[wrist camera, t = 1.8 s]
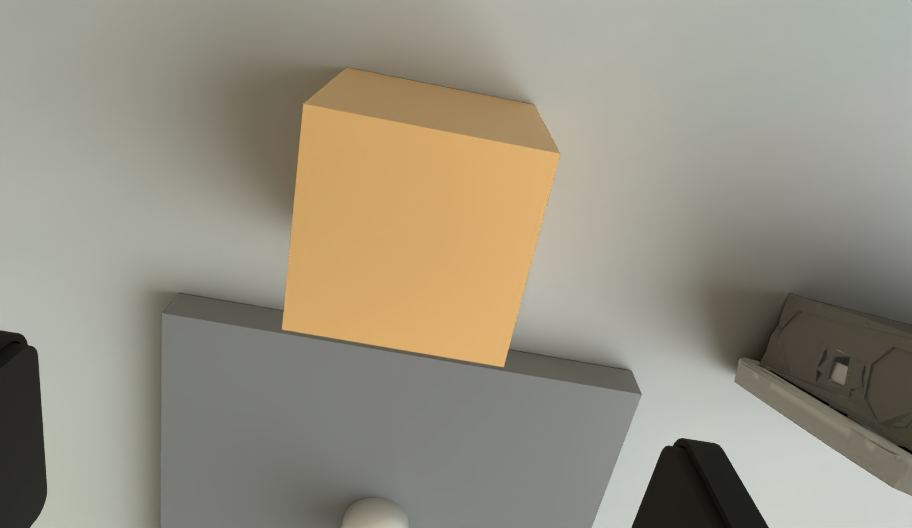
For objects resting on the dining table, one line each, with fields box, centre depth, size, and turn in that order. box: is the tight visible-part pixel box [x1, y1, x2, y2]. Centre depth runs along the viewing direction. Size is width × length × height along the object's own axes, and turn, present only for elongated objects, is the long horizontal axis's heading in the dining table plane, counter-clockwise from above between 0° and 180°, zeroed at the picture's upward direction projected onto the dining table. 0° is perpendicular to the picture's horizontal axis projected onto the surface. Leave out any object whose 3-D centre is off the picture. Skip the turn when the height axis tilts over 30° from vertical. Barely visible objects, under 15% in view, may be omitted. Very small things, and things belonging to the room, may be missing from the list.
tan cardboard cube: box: [282, 68, 560, 367], centre depth 19 cm, size 6×6×6 cm
